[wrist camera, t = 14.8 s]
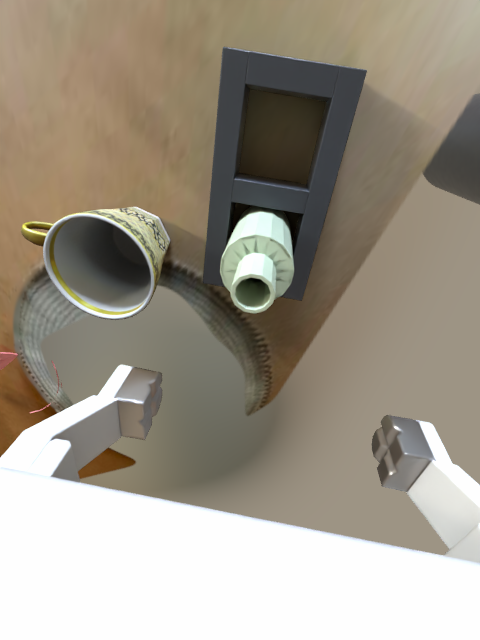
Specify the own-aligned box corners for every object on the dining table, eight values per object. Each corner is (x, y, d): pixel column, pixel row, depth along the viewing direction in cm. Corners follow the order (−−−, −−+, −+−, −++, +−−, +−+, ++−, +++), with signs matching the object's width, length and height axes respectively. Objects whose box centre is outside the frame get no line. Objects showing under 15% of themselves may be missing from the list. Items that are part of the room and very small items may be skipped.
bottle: (295, 208, 33) (305, 262, 20) (283, 260, 36) (285, 335, 23) (240, 199, 33) (215, 246, 20) (233, 252, 36) (207, 322, 23)
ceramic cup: (196, 216, 34) (168, 247, 26) (169, 290, 39) (139, 335, 31) (80, 160, 32) (9, 173, 24) (68, 245, 38) (6, 280, 29)
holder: (356, 77, 26) (367, 70, 23) (300, 284, 37) (301, 300, 34) (230, 56, 27) (222, 46, 23) (209, 268, 37) (202, 283, 34)
